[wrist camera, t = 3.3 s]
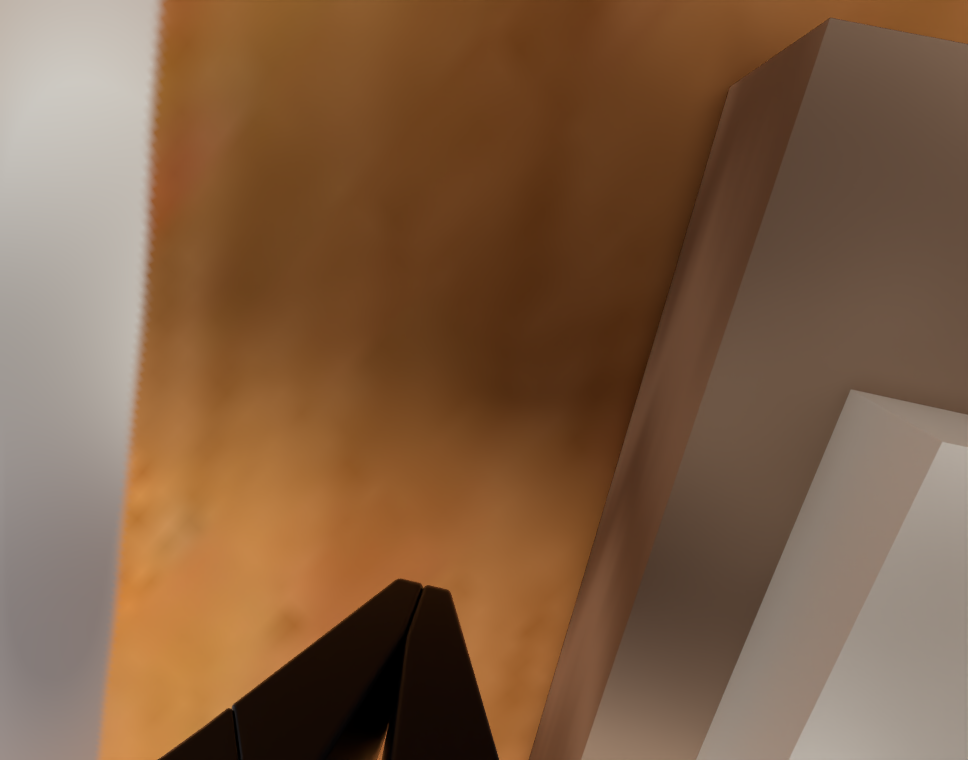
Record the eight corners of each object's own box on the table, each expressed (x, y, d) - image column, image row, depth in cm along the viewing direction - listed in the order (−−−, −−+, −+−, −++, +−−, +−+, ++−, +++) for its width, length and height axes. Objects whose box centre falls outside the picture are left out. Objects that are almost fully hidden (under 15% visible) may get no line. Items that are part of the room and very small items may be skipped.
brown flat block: (948, 878, 16) (1078, 1091, 12) (525, 771, 16) (519, 943, 12) (1380, 215, 10) (1868, 216, 7) (729, 86, 11) (829, 17, 7)
